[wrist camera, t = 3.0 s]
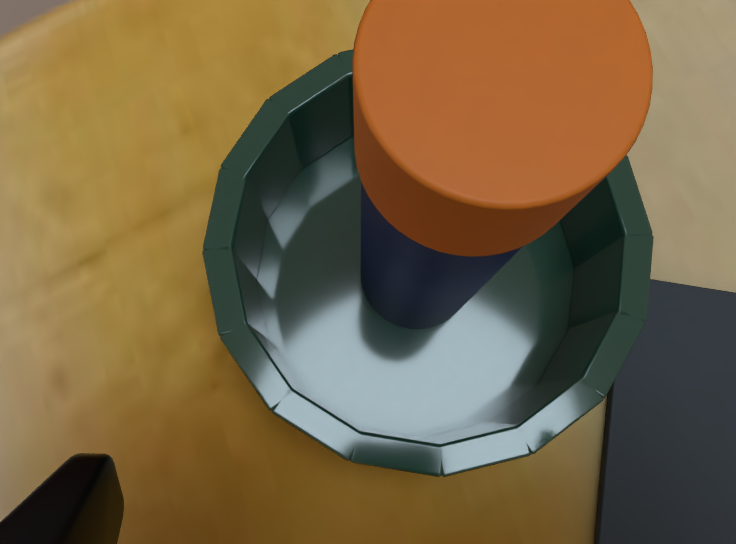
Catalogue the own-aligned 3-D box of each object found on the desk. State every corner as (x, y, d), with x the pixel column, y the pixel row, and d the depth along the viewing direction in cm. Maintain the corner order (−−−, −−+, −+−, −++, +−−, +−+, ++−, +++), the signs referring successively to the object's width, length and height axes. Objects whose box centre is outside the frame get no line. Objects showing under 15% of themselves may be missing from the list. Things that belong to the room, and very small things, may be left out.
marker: (466, 341, 20) (642, 231, 7) (348, 322, 20) (328, 181, 7) (481, 226, 20) (667, -49, 8) (367, 208, 20) (378, -93, 8)
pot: (570, 486, 20) (631, 509, 15) (206, 426, 20) (162, 431, 15) (604, 141, 22) (668, 72, 17) (274, 90, 22) (252, 8, 17)
